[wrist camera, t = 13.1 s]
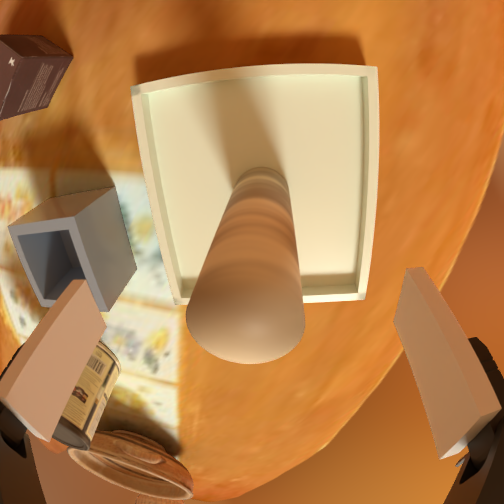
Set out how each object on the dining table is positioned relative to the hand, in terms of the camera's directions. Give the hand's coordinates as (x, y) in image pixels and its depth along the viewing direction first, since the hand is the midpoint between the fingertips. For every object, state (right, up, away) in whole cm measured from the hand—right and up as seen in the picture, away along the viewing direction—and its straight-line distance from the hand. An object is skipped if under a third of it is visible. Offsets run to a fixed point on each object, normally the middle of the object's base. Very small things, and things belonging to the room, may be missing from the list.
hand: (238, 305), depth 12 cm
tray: (+1, +7, +13) cm, 15 cm away
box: (-20, +20, +9) cm, 29 cm away
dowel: (+1, +7, +12) cm, 14 cm away
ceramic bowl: (-25, -41, +43) cm, 64 cm away
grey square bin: (-16, +4, +17) cm, 24 cm away
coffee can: (-23, -14, +28) cm, 39 cm away
